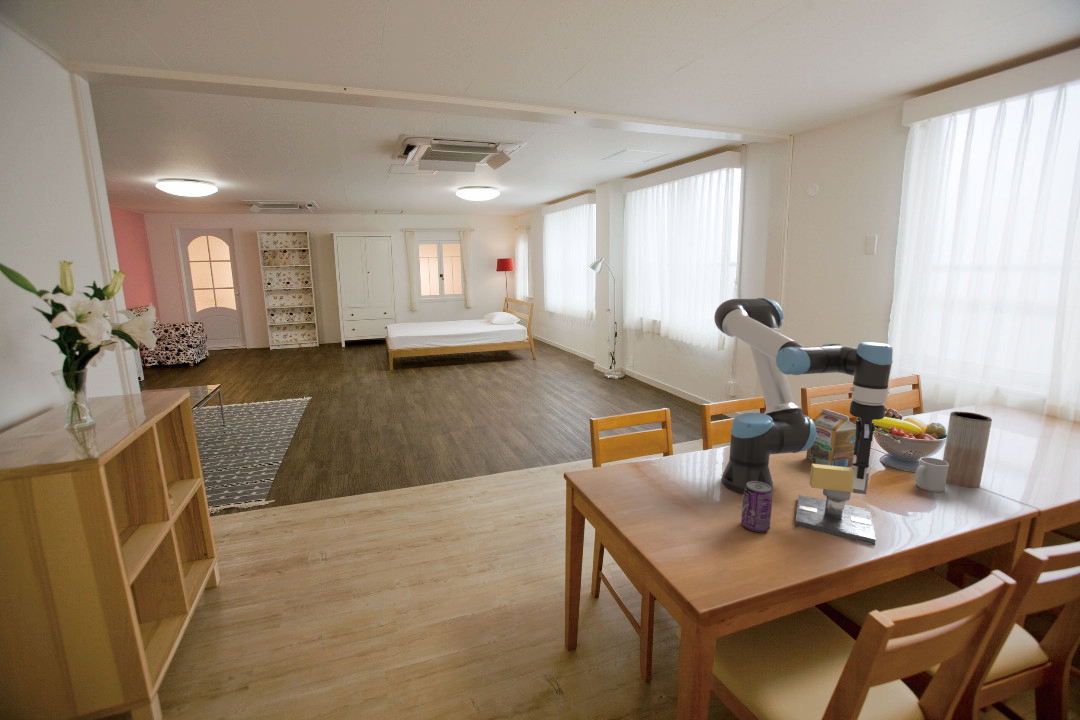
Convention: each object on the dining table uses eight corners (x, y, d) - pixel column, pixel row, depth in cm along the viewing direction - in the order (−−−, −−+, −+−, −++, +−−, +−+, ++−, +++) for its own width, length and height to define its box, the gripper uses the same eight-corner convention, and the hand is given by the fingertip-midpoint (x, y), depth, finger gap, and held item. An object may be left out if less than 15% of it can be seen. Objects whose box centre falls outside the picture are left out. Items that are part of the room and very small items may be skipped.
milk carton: (806, 458, 176) (811, 409, 172) (827, 455, 179) (833, 407, 175) (830, 469, 166) (837, 417, 162) (853, 466, 169) (860, 415, 165)
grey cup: (950, 491, 149) (955, 464, 148) (925, 494, 147) (929, 467, 145) (927, 481, 156) (931, 456, 154) (903, 484, 154) (906, 458, 152)
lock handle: (807, 487, 136) (810, 460, 134) (859, 493, 132) (862, 466, 130) (812, 497, 130) (815, 469, 128) (867, 504, 126) (871, 475, 124)
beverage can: (745, 517, 133) (748, 478, 131) (772, 526, 129) (776, 485, 127) (737, 528, 128) (740, 486, 126) (765, 537, 123) (769, 494, 121)
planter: (950, 486, 153) (962, 419, 149) (933, 473, 162) (943, 410, 158) (987, 489, 150) (1000, 421, 146) (967, 476, 160) (979, 412, 156)
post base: (795, 525, 129) (797, 501, 128) (798, 499, 144) (800, 477, 143) (874, 544, 120) (878, 519, 118) (869, 514, 135) (872, 491, 134)
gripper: (849, 392, 133) (840, 468, 138) (852, 408, 117) (841, 494, 121) (882, 395, 130) (871, 474, 134) (890, 413, 113) (877, 501, 118)
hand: (857, 483), depth 128 cm, fingers open, 6 cm apart
